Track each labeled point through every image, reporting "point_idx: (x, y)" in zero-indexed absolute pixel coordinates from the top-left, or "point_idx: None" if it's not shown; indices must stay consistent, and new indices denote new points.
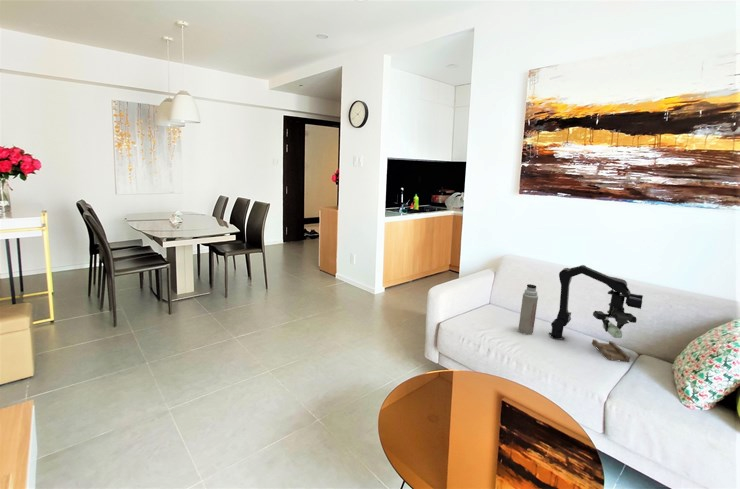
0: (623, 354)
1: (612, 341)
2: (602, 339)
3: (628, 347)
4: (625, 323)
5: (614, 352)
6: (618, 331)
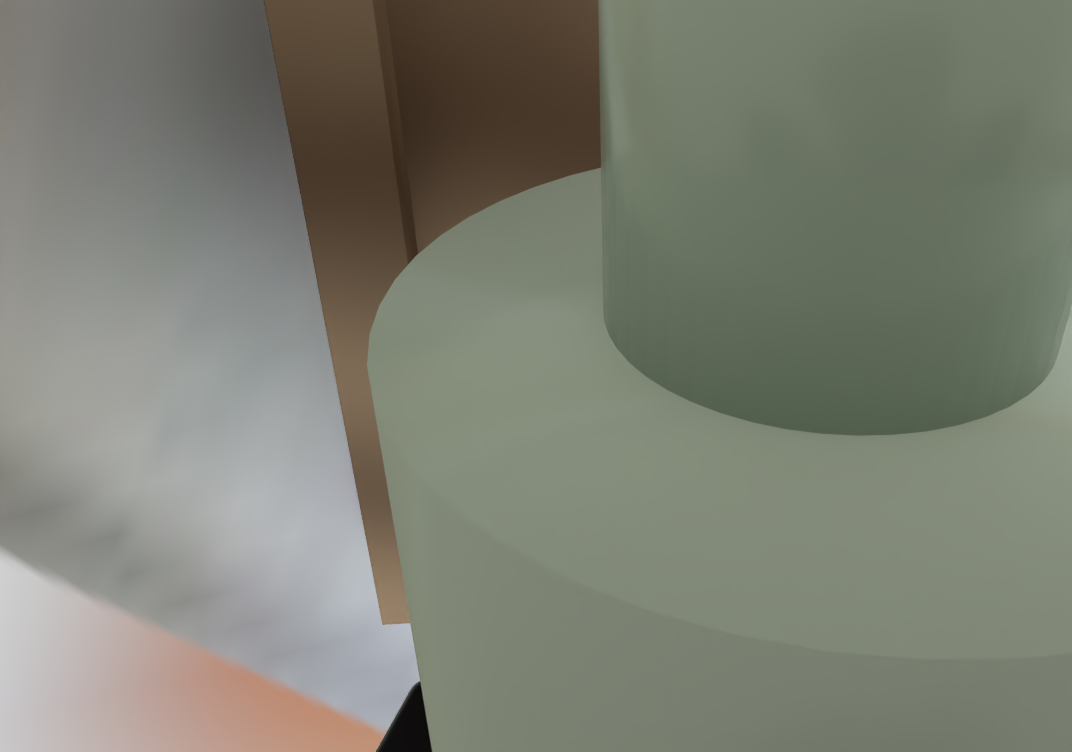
0: None
1: (382, 614)
2: None
3: (18, 550)
4: None
5: (525, 61)
6: (752, 431)
